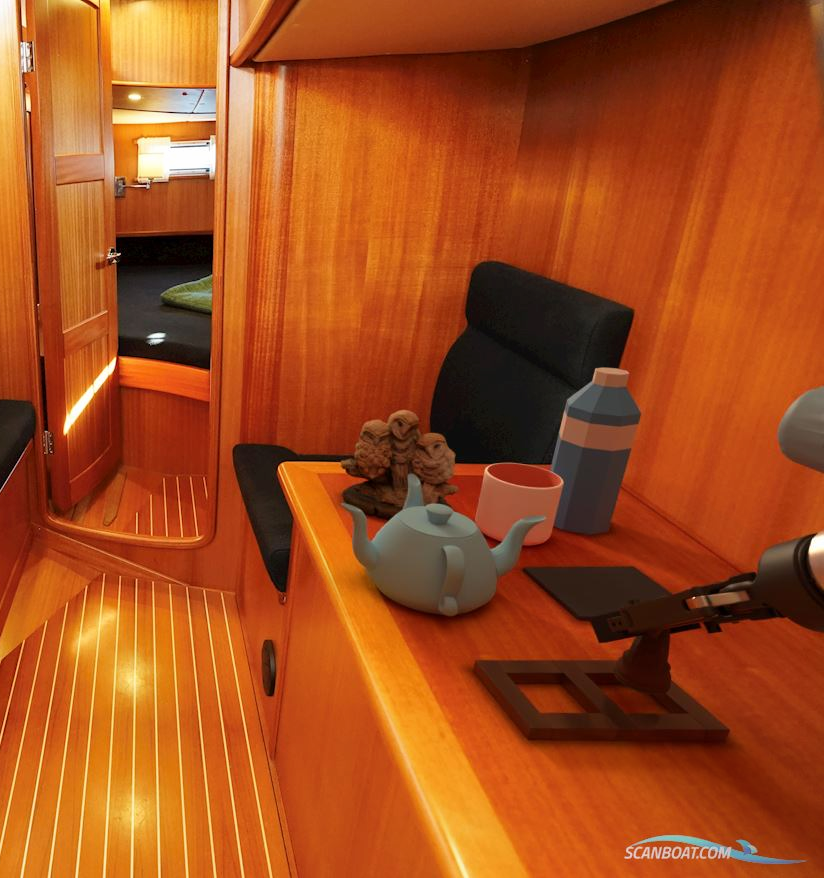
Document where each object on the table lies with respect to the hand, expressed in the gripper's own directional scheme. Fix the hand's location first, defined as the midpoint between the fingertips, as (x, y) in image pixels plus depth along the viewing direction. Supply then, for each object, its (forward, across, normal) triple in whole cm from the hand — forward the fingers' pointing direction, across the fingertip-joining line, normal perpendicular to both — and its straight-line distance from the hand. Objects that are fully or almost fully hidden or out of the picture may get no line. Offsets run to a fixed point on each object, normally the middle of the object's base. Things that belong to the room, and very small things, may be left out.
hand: (618, 628), depth 76 cm
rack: (+3, -4, -7) cm, 9 cm away
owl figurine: (+36, +1, +26) cm, 45 cm away
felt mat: (+16, +14, +6) cm, 22 cm away
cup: (+28, +14, +18) cm, 36 cm away
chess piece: (0, 0, -5) cm, 5 cm away
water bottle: (+30, +26, +20) cm, 44 cm away
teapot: (+20, -8, +10) cm, 23 cm away
